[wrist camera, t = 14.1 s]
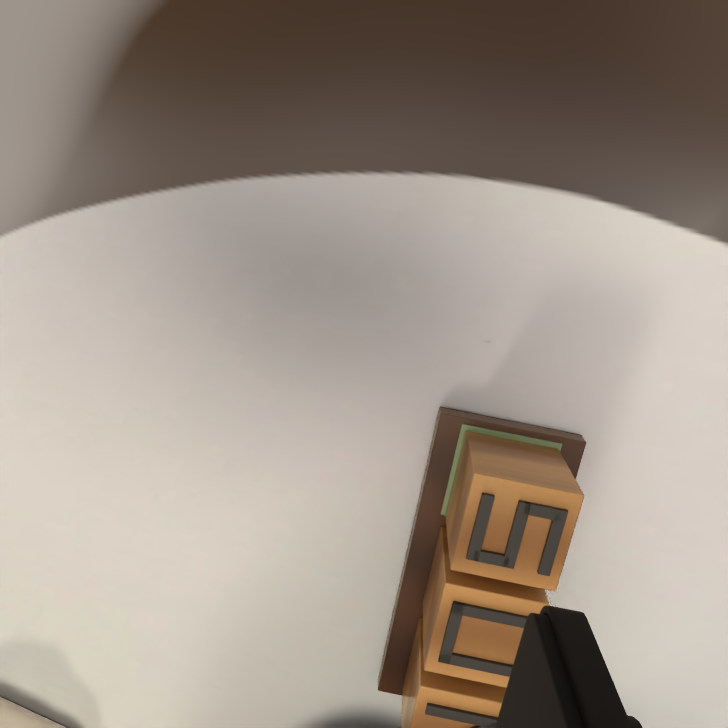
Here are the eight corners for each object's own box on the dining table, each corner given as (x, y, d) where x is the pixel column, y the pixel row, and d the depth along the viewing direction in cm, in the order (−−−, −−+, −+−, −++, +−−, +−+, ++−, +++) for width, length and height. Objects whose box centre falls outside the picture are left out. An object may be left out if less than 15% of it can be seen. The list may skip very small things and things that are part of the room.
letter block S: (465, 429, 32) (474, 474, 27) (558, 448, 32) (586, 497, 27) (444, 514, 33) (450, 572, 28) (535, 532, 33) (556, 594, 28)
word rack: (439, 406, 33) (445, 454, 27) (581, 434, 32) (618, 489, 26) (378, 677, 37) (371, 772, 31) (503, 703, 37) (521, 804, 31)
